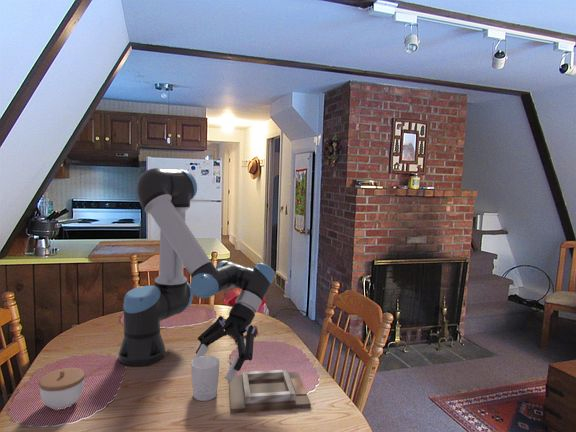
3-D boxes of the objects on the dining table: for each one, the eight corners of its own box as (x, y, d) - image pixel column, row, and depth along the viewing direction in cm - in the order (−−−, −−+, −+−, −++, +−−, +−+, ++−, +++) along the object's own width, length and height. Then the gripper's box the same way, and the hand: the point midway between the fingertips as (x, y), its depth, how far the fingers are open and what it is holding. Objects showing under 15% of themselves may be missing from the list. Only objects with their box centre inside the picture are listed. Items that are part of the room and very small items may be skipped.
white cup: (223, 390, 119) (224, 358, 118) (210, 405, 111) (210, 370, 110) (200, 385, 121) (200, 353, 120) (185, 399, 114) (185, 365, 113)
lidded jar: (80, 412, 106) (79, 378, 105) (34, 418, 103) (33, 383, 102) (88, 391, 116) (87, 360, 115) (46, 395, 113) (45, 364, 112)
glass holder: (230, 413, 108) (230, 402, 107) (228, 379, 125) (228, 369, 125) (310, 407, 112) (311, 396, 111) (297, 375, 129) (298, 365, 129)
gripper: (282, 323, 122) (249, 391, 111) (221, 306, 136) (187, 365, 125) (272, 311, 117) (237, 381, 106) (210, 294, 131) (174, 355, 120)
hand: (210, 373), depth 116 cm, fingers open, 13 cm apart
